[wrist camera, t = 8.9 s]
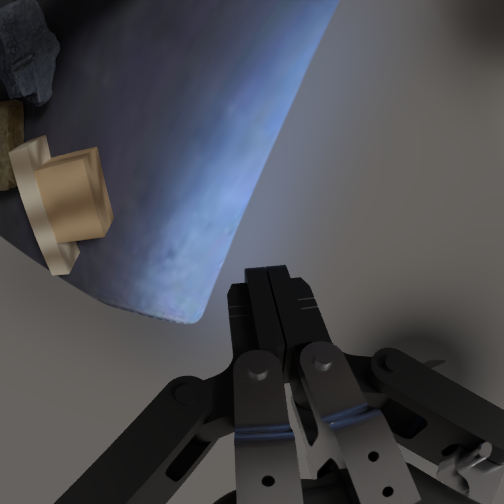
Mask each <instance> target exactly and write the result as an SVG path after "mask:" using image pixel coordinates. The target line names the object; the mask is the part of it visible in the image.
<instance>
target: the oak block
mask: <svg viewBox="0 0 504 504" xmlns="http://www.w3.org/2000/svg"><path fill="white" fill-rule="evenodd" d="M34 173H35V177H36V180H37V184H38V187H39V190H40V193H41V197H42V200H43V203H44V206H45V209H46V212H47V215H48V218H49V220H50V223H51V226H52V229H53V231H54V234H55V237H56V239H57V242H58V243H65V242H72V241H79V240H86V239H94V238H101V237H105V235H106V233H107V231H108V229H109V227H110V225H111V223H112V221H113V219H114V216H113V212H112V209H111V205H110V201H109V197H108V193H107V189H106V185H105V181H104V177H103V172H102V168H101V163H100V158H99V154H98V149H97V147H94V148H89V149H85V150H81V151H76V152H72V153H68V154H65V155H61V156H57V157H53V158H51V159H49V160H48V161H47V162H45V163H44V164H43V165H42V166H40V167H39V168H38V169H37V170H35V171H34Z"/></svg>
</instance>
